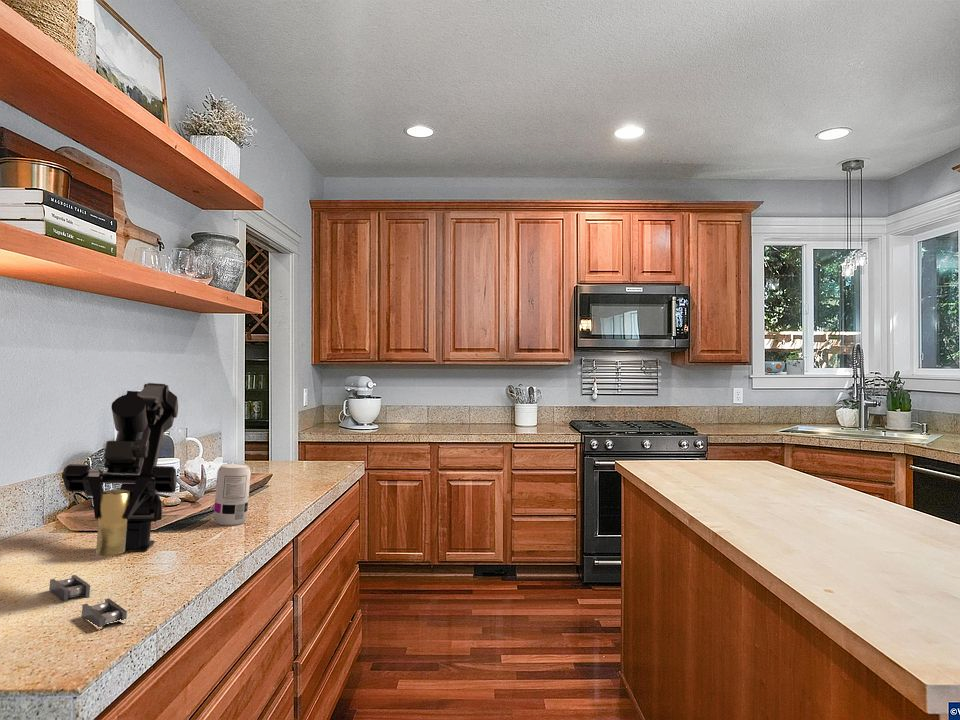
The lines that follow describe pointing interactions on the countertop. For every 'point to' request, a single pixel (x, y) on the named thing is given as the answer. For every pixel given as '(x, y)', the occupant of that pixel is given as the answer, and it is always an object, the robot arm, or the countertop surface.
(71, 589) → the chain end
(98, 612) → the chain end
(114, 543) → the link pin
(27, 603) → the countertop surface
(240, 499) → the supplement can
